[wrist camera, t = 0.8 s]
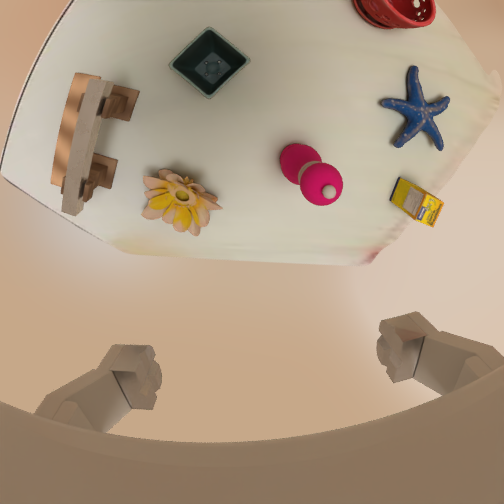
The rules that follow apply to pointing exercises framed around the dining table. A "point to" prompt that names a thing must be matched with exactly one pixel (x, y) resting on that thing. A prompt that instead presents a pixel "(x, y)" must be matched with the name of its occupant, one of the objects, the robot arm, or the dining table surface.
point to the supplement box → (416, 202)
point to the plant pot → (396, 13)
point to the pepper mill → (311, 174)
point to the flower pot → (209, 62)
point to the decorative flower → (178, 202)
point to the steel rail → (84, 144)
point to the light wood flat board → (68, 127)
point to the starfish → (417, 112)
